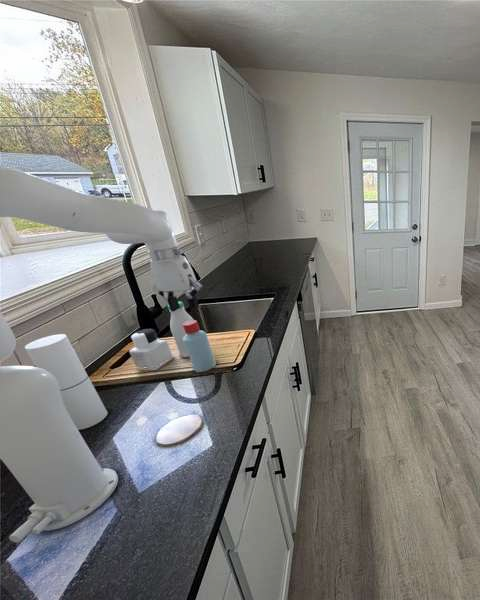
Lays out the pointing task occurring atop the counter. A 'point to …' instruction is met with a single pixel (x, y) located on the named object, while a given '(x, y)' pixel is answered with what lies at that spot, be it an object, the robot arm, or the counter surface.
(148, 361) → the container
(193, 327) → the cap
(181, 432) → the coaster
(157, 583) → the counter surface
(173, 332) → the milk bottle
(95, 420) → the cylindrical container
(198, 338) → the water bottle
